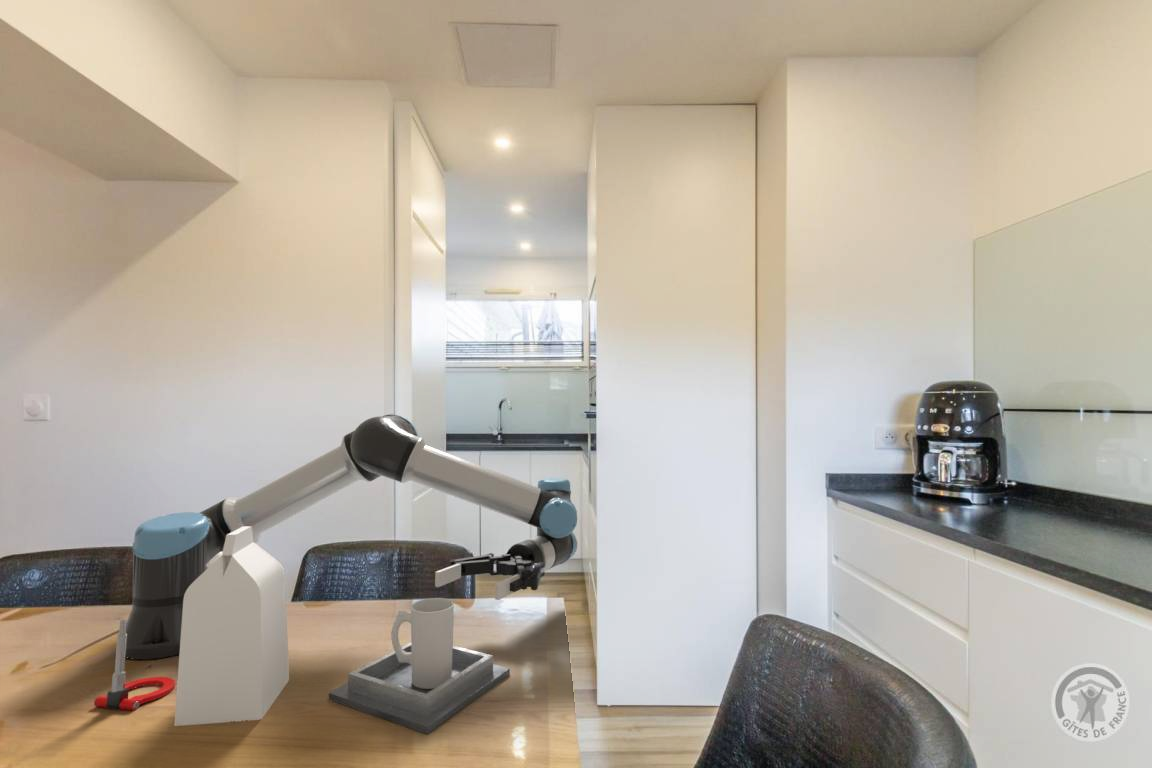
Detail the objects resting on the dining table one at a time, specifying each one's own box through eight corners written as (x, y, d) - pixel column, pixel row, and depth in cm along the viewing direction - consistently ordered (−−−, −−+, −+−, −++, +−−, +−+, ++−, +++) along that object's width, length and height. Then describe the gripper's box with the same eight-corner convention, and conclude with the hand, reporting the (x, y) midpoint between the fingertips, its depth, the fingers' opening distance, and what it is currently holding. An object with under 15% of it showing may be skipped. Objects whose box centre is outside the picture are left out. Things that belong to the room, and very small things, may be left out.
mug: (457, 670, 97) (458, 598, 97) (447, 690, 90) (448, 612, 91) (398, 669, 97) (399, 597, 98) (383, 689, 91) (384, 611, 91)
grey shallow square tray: (328, 699, 90) (328, 676, 90) (419, 650, 107) (420, 631, 107) (427, 734, 80) (427, 708, 80) (509, 674, 98) (509, 653, 98)
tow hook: (142, 682, 96) (87, 708, 87) (148, 601, 97) (94, 619, 88) (187, 686, 95) (136, 713, 86) (192, 604, 96) (142, 623, 87)
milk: (261, 719, 84) (264, 538, 85) (174, 726, 82) (178, 540, 83) (289, 680, 96) (291, 521, 97) (213, 685, 94) (216, 523, 95)
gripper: (581, 585, 117) (523, 619, 98) (482, 567, 129) (413, 594, 110) (582, 548, 117) (524, 575, 98) (482, 533, 129) (414, 554, 110)
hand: (465, 585), depth 104 cm, fingers open, 13 cm apart
